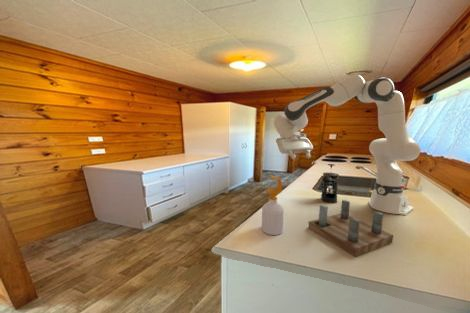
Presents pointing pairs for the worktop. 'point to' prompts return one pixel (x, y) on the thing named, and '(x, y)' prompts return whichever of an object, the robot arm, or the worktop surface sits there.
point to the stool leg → (323, 215)
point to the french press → (329, 194)
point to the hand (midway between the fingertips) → (302, 158)
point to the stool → (353, 231)
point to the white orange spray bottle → (273, 212)
